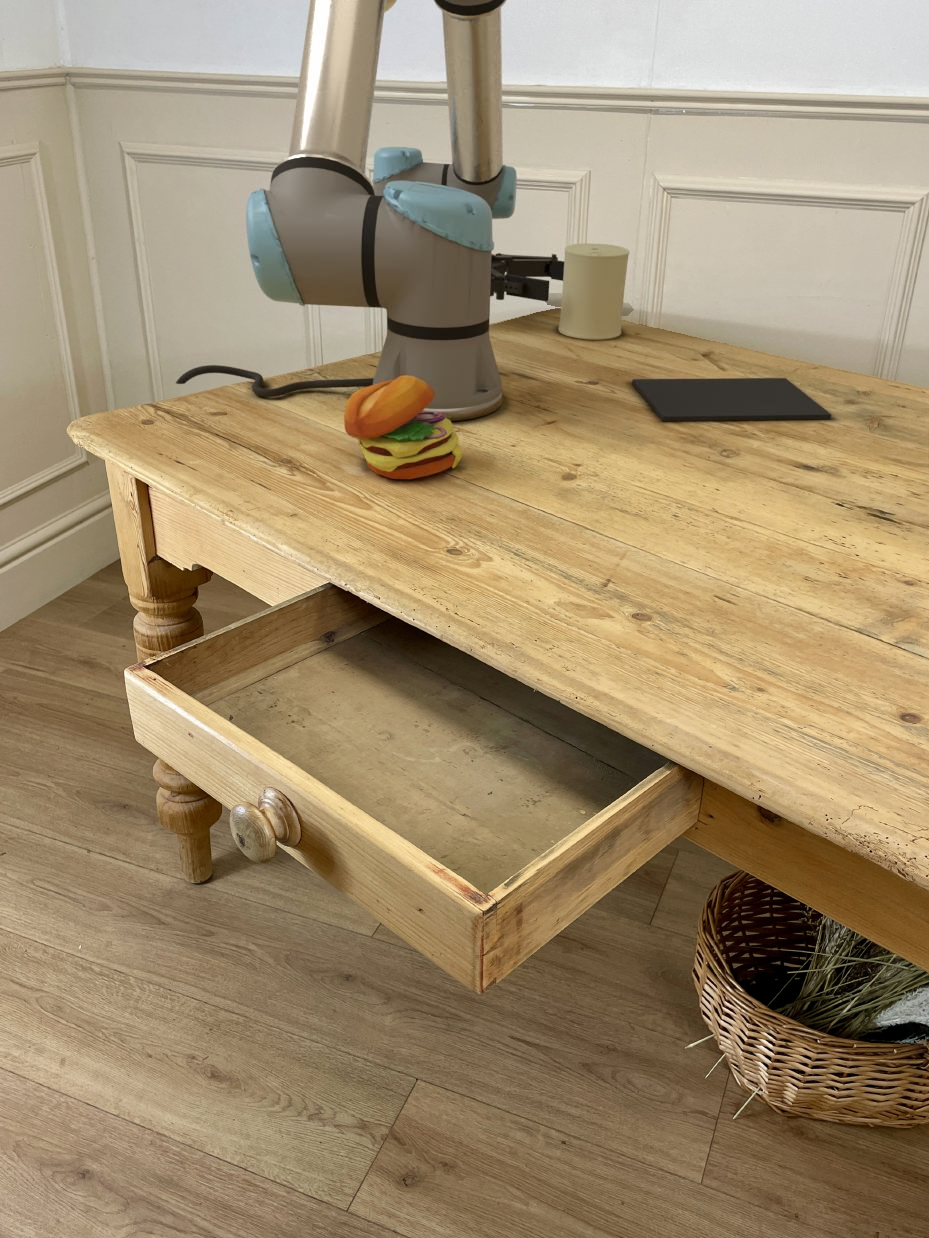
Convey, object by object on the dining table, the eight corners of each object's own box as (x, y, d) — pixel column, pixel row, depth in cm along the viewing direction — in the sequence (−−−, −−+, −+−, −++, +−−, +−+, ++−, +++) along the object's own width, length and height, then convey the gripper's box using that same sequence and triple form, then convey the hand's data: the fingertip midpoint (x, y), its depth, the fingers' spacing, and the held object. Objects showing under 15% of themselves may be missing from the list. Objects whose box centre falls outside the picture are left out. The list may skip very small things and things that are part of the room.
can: (555, 337, 143) (561, 250, 137) (560, 321, 151) (567, 238, 145) (620, 342, 142) (629, 253, 135) (622, 325, 149) (630, 242, 143)
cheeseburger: (464, 485, 95) (440, 386, 90) (357, 506, 96) (327, 410, 91) (465, 446, 104) (444, 353, 99) (367, 466, 105) (340, 376, 100)
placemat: (662, 421, 113) (663, 416, 113) (631, 383, 125) (632, 379, 124) (830, 419, 115) (831, 414, 115) (784, 382, 127) (785, 377, 127)
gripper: (489, 275, 165) (604, 294, 156) (401, 303, 147) (526, 326, 137) (491, 228, 162) (609, 243, 152) (401, 250, 143) (529, 270, 134)
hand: (570, 283), depth 145 cm, fingers open, 13 cm apart
